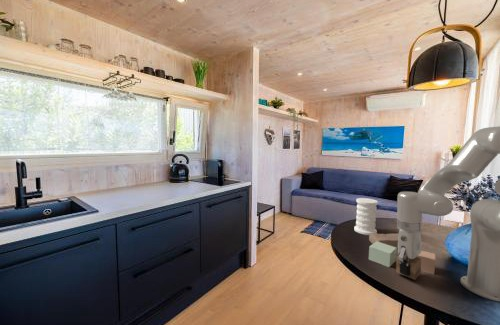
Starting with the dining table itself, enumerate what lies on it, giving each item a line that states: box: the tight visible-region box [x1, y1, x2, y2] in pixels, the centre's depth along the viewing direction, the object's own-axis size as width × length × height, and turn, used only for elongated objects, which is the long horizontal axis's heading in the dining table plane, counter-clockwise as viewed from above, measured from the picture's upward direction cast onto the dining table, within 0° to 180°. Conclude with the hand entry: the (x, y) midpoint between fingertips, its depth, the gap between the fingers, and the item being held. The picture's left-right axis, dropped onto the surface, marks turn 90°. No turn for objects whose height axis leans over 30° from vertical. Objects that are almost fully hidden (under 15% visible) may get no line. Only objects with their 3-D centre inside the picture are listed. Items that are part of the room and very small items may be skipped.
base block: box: [368, 241, 398, 268], centre depth 96 cm, size 8×8×6 cm
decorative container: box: [353, 197, 379, 236], centre depth 126 cm, size 12×12×18 cm
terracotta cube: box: [417, 250, 436, 275], centre depth 89 cm, size 6×6×6 cm
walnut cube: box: [395, 254, 422, 281], centre depth 84 cm, size 6×6×6 cm
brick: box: [368, 233, 399, 249], centre depth 110 cm, size 17×8×5 cm, turn 94°
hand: (408, 270), depth 84 cm, fingers closed on walnut cube, 6 cm apart
